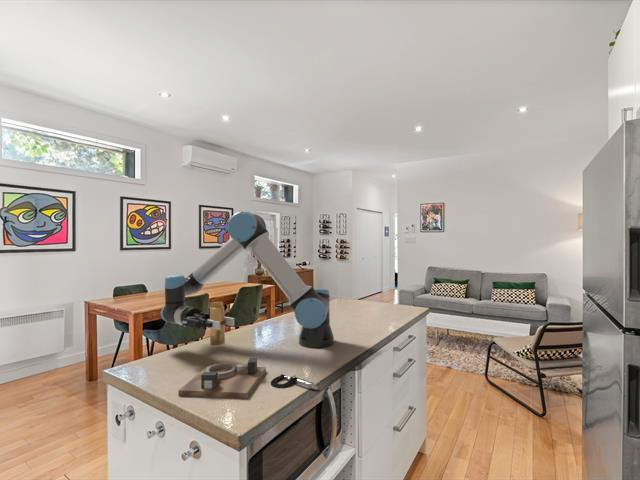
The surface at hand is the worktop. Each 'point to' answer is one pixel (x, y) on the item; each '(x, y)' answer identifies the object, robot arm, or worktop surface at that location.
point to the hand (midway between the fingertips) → (226, 323)
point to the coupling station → (225, 380)
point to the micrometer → (292, 382)
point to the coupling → (218, 315)
